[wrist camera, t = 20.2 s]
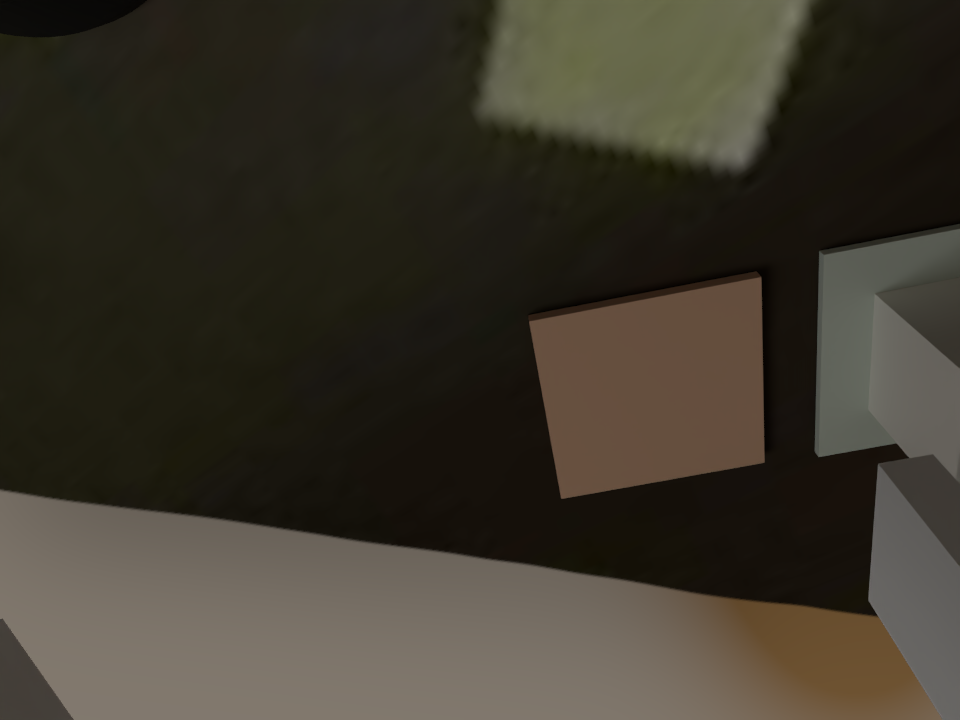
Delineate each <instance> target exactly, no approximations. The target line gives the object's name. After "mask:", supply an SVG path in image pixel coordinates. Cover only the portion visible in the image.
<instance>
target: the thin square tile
mask: <svg viewBox="0 0 960 720" xmlns="http://www.w3.org/2000/svg"><path fill="white" fill-rule="evenodd" d="M528 319H529V324H530V330H531V335H532V341H533V346H534V352H535V357H536V363H537V368H538V374H539V379H540V385H541V390H542V396H543V401H544V407H545V412H546V418H547V423H548V429H549V434H550V440H551V445H552V451H553V456H554V462H555V467H556V473H557V478H558V484H559V489H560V494H561V499H563V498H569V497H574V496H580V495H586V494H591V493H597V492H602V491H608V490H614V489H619V488H625V487H630V486H636V485H642V484H647V483H653V482H658V481H664V480H670V479H675V478H681V477H686V476H692V475H698V474H703V473H709V472H714V471H720V470H726V469H731V468H737V467H742V466H748V465H754V464H759V463H764V403H763V343H762V283H761V276H760V275H759V274H758V273H757V271H755V272H750V273H745V274H740V275H734V276H729V277H724V278H719V279H714V280H708V281H703V282H698V283H693V284H688V285H682V286H677V287H672V288H667V289H662V290H656V291H651V292H646V293H641V294H636V295H630V296H625V297H620V298H615V299H609V300H604V301H599V302H594V303H589V304H583V305H578V306H573V307H568V308H563V309H557V310H552V311H547V312H542V313H537V314H531V315H528Z"/></svg>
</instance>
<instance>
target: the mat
mask: <svg viewBox="0 0 960 720" xmlns="http://www.w3.org/2000/svg"><path fill="white" fill-rule="evenodd" d="M959 277H960V224H957V225H951V226H946V227H941V228H936V229H931V230H925V231H920V232H915V233H910V234H905V235H900V236H894V237H889V238H884V239H879V240H874V241H868V242H863V243H858V244H853V245H848V246H843V247H837V248H832V249H827V250H822V251H819V290H818V334H817V378H816V422H815V452H816V454H817V455H818V457H821V456H827V455H833V454H838V453H844V452H849V451H855V450H861V449H866V448H872V447H877V446H883V445H889V444H894V443H896V442H895V440H894V439H893V438H892V437H891V436H890V435H889V433H888V432H887V431H886V430H885V429H884V428H883V426H882V425H881V424H880V423H879V422H878V421H877V419H876V418H875V417H874V416H873V415H872V414H871V412H870V411H869V410H868V405H869V387H870V369H871V351H872V334H873V316H874V298H875V294H876V293H881V292H886V291H892V290H897V289H902V288H907V287H912V286H917V285H923V284H928V283H933V282H938V281H943V280H948V279H954V278H959Z"/></svg>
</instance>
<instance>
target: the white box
mask: <svg viewBox="0 0 960 720" xmlns="http://www.w3.org/2000/svg"><path fill="white" fill-rule="evenodd" d="M868 410H869V411H870V412H871V414H872V415H873V416H874V417H875V418H876V419H877V421H878V422H879V423H880V424H881V425H882V426H883V428H884V429H885V430H886V431H887V432H888V433H889V435H890V436H891V437H892V438H893V439H894V440H895V442H896V443H897V444H898V445H899V446H900V447H901V449H902V450H903V451H904V452H905V453H906V454H907V456H908V457H909V458H914V457H920V456H925V455H931V454H933V455H934V456H935V457H936V458H937V459H938V460H939V461H940V463H941V464H942V465H943V466H944V467H945V468H946V469H947V470H948V471H949V472H950V474H951V475H952V476H953V477H954V478H955V479H956V480H957V481H958V482H959V483H960V277H959V278H954V279H948V280H943V281H938V282H933V283H928V284H923V285H917V286H912V287H907V288H902V289H897V290H892V291H886V292H881V293H876V294H875V298H874V316H873V334H872V351H871V369H870V387H869V405H868Z"/></svg>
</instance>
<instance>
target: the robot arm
mask: <svg viewBox="0 0 960 720" xmlns="http://www.w3.org/2000/svg"><path fill="white" fill-rule="evenodd" d="M145 1H146V0H0V33H2V34H7V35H14V36H24V37H56V36H65V35H70V34H76V33H80V32H83V31H87V30H90V29H93V28H96V27H99V26H102V25H104V24H107V23H110V22H113V21H115V20H117V19H119V18H121V17H123V16H125V15H127V14H128V13H130V12H132V11H133V10H135V9H136V8H138V7H139V6H140V5H142V4H143V3H144V2H145ZM868 600H869V602H870V604H871V605H872V607H873V608H874V610H875V612H876V613H877V615H878V616H879V618H880V619H881V621H882V623H883V624H884V626H885V628H886V629H887V631H888V633H889V634H890V635H891V637H892V639H893V641H894V642H895V644H896V645H897V647H898V649H899V650H900V652H901V653H902V655H903V657H904V658H905V660H906V662H907V663H908V665H909V666H910V668H911V670H912V671H913V673H914V674H915V676H916V678H917V679H918V681H919V682H920V684H921V686H922V687H923V689H924V691H925V692H926V694H927V695H928V697H929V698H930V700H931V702H932V703H933V705H934V707H935V708H936V710H937V711H938V713H939V715H940V716H941V718H942V719H943V720H960V483H959V482H958V481H957V480H956V479H955V478H954V477H953V476H952V475H951V474H950V472H949V471H948V470H947V469H946V468H945V467H944V466H943V465H942V464H941V463H940V461H939V460H938V459H937V458H936V457H935V456H934V455H933V454H931V455H925V456H920V457H914V458H908V459H903V460H897V461H891V462H886V463H880V464H878V475H877V488H876V502H875V516H874V529H873V543H872V557H871V570H870V584H869V598H868ZM0 720H73V718H72V717H71V716H70V714H69V713H68V711H67V710H66V709H65V707H64V706H63V704H62V703H61V701H60V700H59V698H58V697H57V696H56V694H55V693H54V691H53V690H52V688H51V687H50V686H49V684H48V683H47V681H46V680H45V679H44V677H43V676H42V674H41V673H40V671H39V670H38V669H37V667H36V666H35V664H34V663H33V662H32V660H31V659H30V657H29V656H28V654H27V653H26V651H25V650H24V649H23V647H22V646H21V645H20V643H19V642H18V640H17V639H16V637H15V636H14V634H13V633H12V632H11V630H10V629H9V628H8V626H7V624H6V623H5V622H4V620H3V619H0Z"/></svg>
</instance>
